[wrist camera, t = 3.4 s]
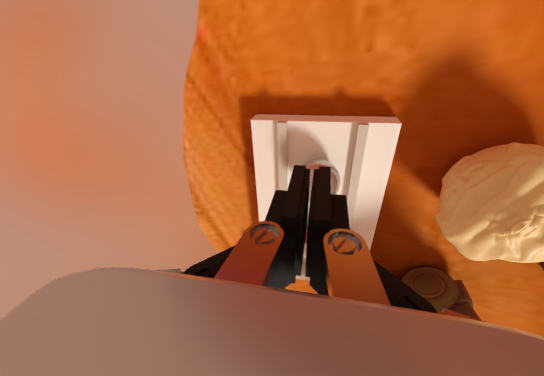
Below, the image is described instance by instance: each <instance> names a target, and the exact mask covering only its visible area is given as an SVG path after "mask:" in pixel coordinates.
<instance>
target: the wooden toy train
mask: <svg viewBox="0 0 544 376" xmlns="http://www.w3.org/2000/svg"><path fill="white" fill-rule="evenodd" d="M401 281H402V282H403V283H405V284H406V285H407V286H409V287H410V288H411V289H413V290H414V291H415V292H417V293H418V294H419V295H421V296H422V297H423V298H425V299H426V300H427V301H428V302H429V303H431V304H432V305H433V306H434V308H435V309H436V310H439V311H442V310H443V308H445V309H448V310H451V311H454V312H457V313H460V314H463V315H466V316H469V317H472V318H475V319H478V320H481V319H480V318H479V317H478V315H477V314H476V312H475V311H474V309H473V303H472V299H471V298H470V296H469V294H468V292H467V290H466V288H465V286H464V285H463V283H462V281H461V280H453V279H452V278H451V277H450V276H449V275H448V274H446V273H445V272H444V271H441V270H439V269H437V268H433V267H417V268H413V269H411V270H409V271H408V272H406V274H405V275H404V276H403V277H402V280H401Z"/></svg>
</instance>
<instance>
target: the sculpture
mask: <svg viewBox="0 0 544 376" xmlns="http://www.w3.org/2000/svg"><path fill="white" fill-rule="evenodd" d="M435 219H436V222H437V223H438V224H439V225H440V229H441V231H442V234H443V236H444V237H445V238H446V239H447V240H448V241H449V242H451V243H452V244H453V246H454V247H455V248H456V249H457V250H458V251H459V252H460V253H461V254H462V255H463V256H465V257H466V258H468V259H470V260H474V261H487V260H493V259H501V260H506V261H511V262H521V263H534V262H544V146H541V145H535V144H521V143H517V142H513V143H510V144H505V145H498V146H493V147H490V148H486V149H483V150H481V151H479V152H476V153H474V154H472V155H469V156H465V157H463V158H461V159H460V160H459V161H458V162H457V163H455V164H454V165H453V166H452V167H451V168H450V169H449V171H448V172H447V173H446V174H445V176H444V177H443V178H442V189H441V192H440V198H439V211H438V213H436V215H435Z"/></svg>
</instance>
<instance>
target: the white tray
mask: <svg viewBox="0 0 544 376" xmlns="http://www.w3.org/2000/svg"><path fill="white" fill-rule="evenodd" d="M401 125H402V123H401V122H400V121H399V119H398V118H397V117H379V116H327V115H274V114H256V115H255V116H254V117H253V118H252V119H251V130H252V142H253V154H254V166H255V178H256V190H257V202H258V214H259V222H260V221H265V218H266V216H267V213H268V210H269V207H270V204H271V201H272V199H273V196H274V193H275V191H276V190H285V191H287V190H288V186H289V183H290V179H291V175H292V172H293V168H294V165H303V164H304V163H305V162H307V161H309V160H312V159H323V160H326V161H328V162H330V163H332V164H333V165H334V166H335V167H336V169H337V170H338V173H339V176H340V187H339V189H338V192H337V193H336V194H338V195H346V197H347V206H348V216H349V225H350V230H351V231H354V232H356V233H358V234H359V235H360V236H362V237H363V238H364V240H365V242H366V244H367V246H368V249H369V251H370V249H371V245H372V241H373V237H374V233H375V229H376V225H377V221H378V217H379V213H380V209H381V205H382V201H383V197H384V193H385V189H386V185H387V181H388V177H389V173H390V169H391V165H392V161H393V157H394V153H395V149H396V145H397V141H398V137H399V133H400V129H401ZM309 206H310V202H309ZM309 206H308V214H309ZM307 223H308V221H307ZM306 247H307V243H305V246H304V255H303V263H302V271H301V276H297V275H296V279H301V280H308V281H310V277H305V267H306Z"/></svg>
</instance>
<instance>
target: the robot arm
mask: <svg viewBox="0 0 544 376" xmlns="http://www.w3.org/2000/svg"><path fill="white" fill-rule="evenodd" d="M309 186H310V169H306V166H305V165H294V168H293V172H292V175H291V179H290V183H289V186H288V190H287V191H285V190H276V191H275V193H274V196H273V199H272V201H271V204H270V207H269V210H268V213H267V216H266V218H265V221H260V222H257V223H254V224H252V225H250V226H249V227H248V228H247V229H246V231H245V232H244V234H243V235H242V237H241V238H240V240H239V241H238V243H237V244H236V245H235V246H233V247H231V248H229V249H227V250H225V251H223V252H220V253H218V254H216V255H214V256H212V257H210V258H208V259H206V260H204V261H201V262H199V263H197V264H195V265H193V266H191V267H190V268H188V269H187V270H186V271H185V272H182V271H181V269H168V270H148V269H137V268H99V269H92V270H87V271H81V272H76V273H73V274H69V275H66V276H63V277H60V278H57V279H55V280H53V281H51V282H49V283H48V284H46V285H44V286H43V287H41V288H40V289H38V290H37V291H35V292H34V293H33V294H31V295H30V296H28V297H27V298H26V299H24V300H23V301H22V302H21V303H19V304H18V305H17V306H15V307H14V308H13V309H12V310H11V311H9V312H8V313H6V314H5V315H4V316H3V317H2V318H0V376H544V337H543V336H540V335H537V334H534V333H530V332H526V331H522V330H519V329H515V328H511V327H507V326H502V325H497V324H492V323H487V322H484V321H481V320H478V319H475V318H472V317H469V316H466V315H463V314H460V313H457V312H454V311H451V310H448V309H445V308H443V310H442V311H439V310H436V309H435V308H434V306H433V305H432V304H431V303H429V302H428V301H427V300H426V299H425V298H423V297H422V296H421V295H419V294H418V293H417V292H415V291H414V290H413V289H411V288H410V287H409V286H407V285H406V284H405V283H403V282H402V281H401V280H399V279H398V278H397V277H395V276H394V275H393V274H391V273H390V272H388V271H387V270H386V269H384V268H383V267H382V266H380V265H379V264H378V263H376V262H375V261H374V260H373V259H372V256H371V254H370V251H369V249H368V246H367V244H366V242H365V240H364V238H363V237H362V236H360V235H359V234H358V233H356V232H354V231H351V230H350V225H349V216H348V206H347V197H346V195H338V194H331V167H324V166H319V169H314V172H313V181H312V189H311V198H310V206H309ZM308 206H309V214H308ZM307 221H308V227H307ZM306 230H307V247H306V267H305V277H310V286H311V287H312V288H313V289H314V290H315V291H316V292H317V293H318V294H313V293H307V292H300V291H294V290H287V289H285V287H286V286H288V285H289V284H291V283H295V279H296V275H297V276H301V271H302V263H303V255H304V246H305V238H306Z"/></svg>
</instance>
